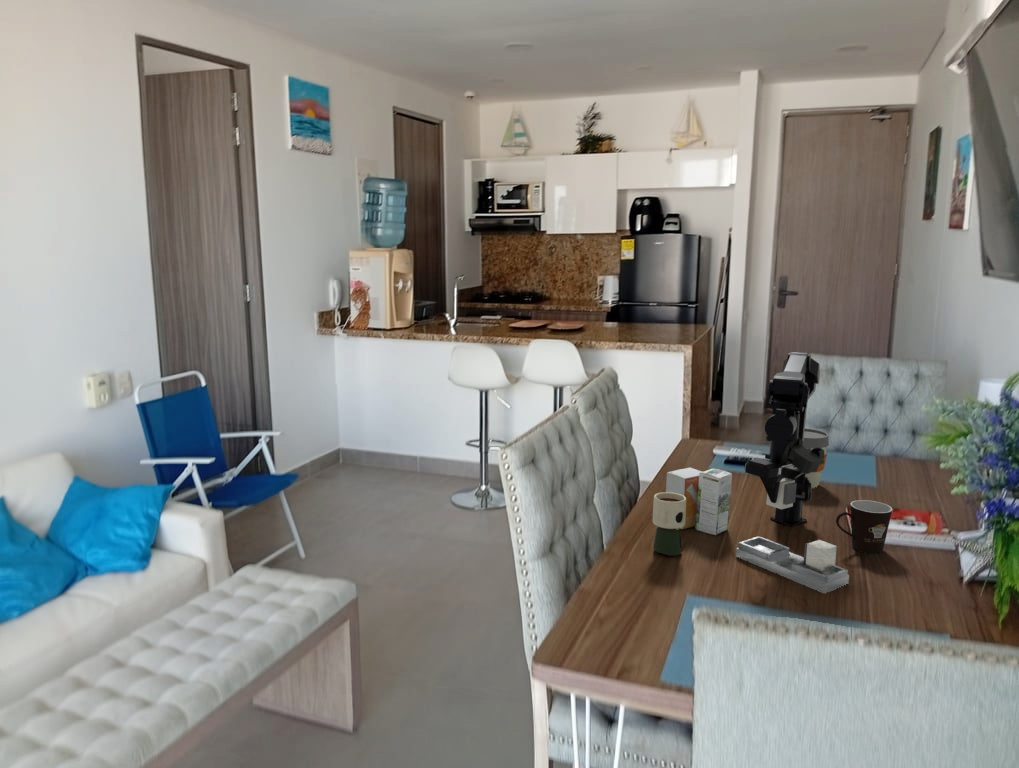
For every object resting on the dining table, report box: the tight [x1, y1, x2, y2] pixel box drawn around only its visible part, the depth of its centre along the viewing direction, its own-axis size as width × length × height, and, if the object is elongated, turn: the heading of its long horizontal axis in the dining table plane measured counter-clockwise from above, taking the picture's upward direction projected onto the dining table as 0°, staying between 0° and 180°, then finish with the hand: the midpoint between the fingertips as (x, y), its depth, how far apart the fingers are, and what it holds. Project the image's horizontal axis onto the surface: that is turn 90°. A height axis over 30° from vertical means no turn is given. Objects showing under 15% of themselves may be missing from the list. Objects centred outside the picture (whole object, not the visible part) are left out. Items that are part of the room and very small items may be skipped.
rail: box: [735, 536, 850, 595], centre depth 164 cm, size 8×22×8 cm, turn 34°
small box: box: [665, 466, 703, 530], centre depth 191 cm, size 8×6×13 cm
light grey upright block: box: [765, 477, 797, 509], centre depth 173 cm, size 4×5×6 cm
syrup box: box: [694, 468, 733, 536], centre depth 186 cm, size 6×6×14 cm
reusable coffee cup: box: [803, 428, 830, 489], centre depth 223 cm, size 13×13×15 cm
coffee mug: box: [835, 499, 893, 554], centre depth 177 cm, size 12×9×10 cm
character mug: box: [652, 491, 686, 557], centre depth 173 cm, size 11×7×13 cm, turn 152°
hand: (779, 501), depth 174 cm, fingers closed on light grey upright block, 4 cm apart
